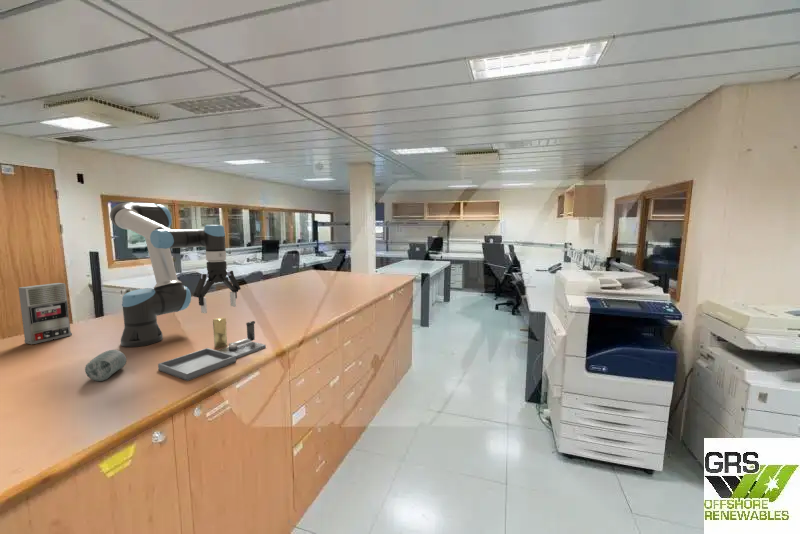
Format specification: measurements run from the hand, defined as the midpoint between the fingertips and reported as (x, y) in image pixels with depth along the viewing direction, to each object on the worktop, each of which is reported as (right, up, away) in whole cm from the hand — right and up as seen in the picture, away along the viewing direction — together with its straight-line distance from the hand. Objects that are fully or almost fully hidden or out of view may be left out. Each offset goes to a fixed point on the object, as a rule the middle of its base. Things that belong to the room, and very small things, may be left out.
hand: (219, 309), depth 146 cm
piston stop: (0, -16, +2) cm, 16 cm away
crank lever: (+11, -15, -1) cm, 19 cm away
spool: (-24, -20, -28) cm, 42 cm away
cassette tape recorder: (-81, -15, +7) cm, 83 cm away
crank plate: (+11, -17, -4) cm, 21 cm away
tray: (+3, -19, -20) cm, 27 cm away
